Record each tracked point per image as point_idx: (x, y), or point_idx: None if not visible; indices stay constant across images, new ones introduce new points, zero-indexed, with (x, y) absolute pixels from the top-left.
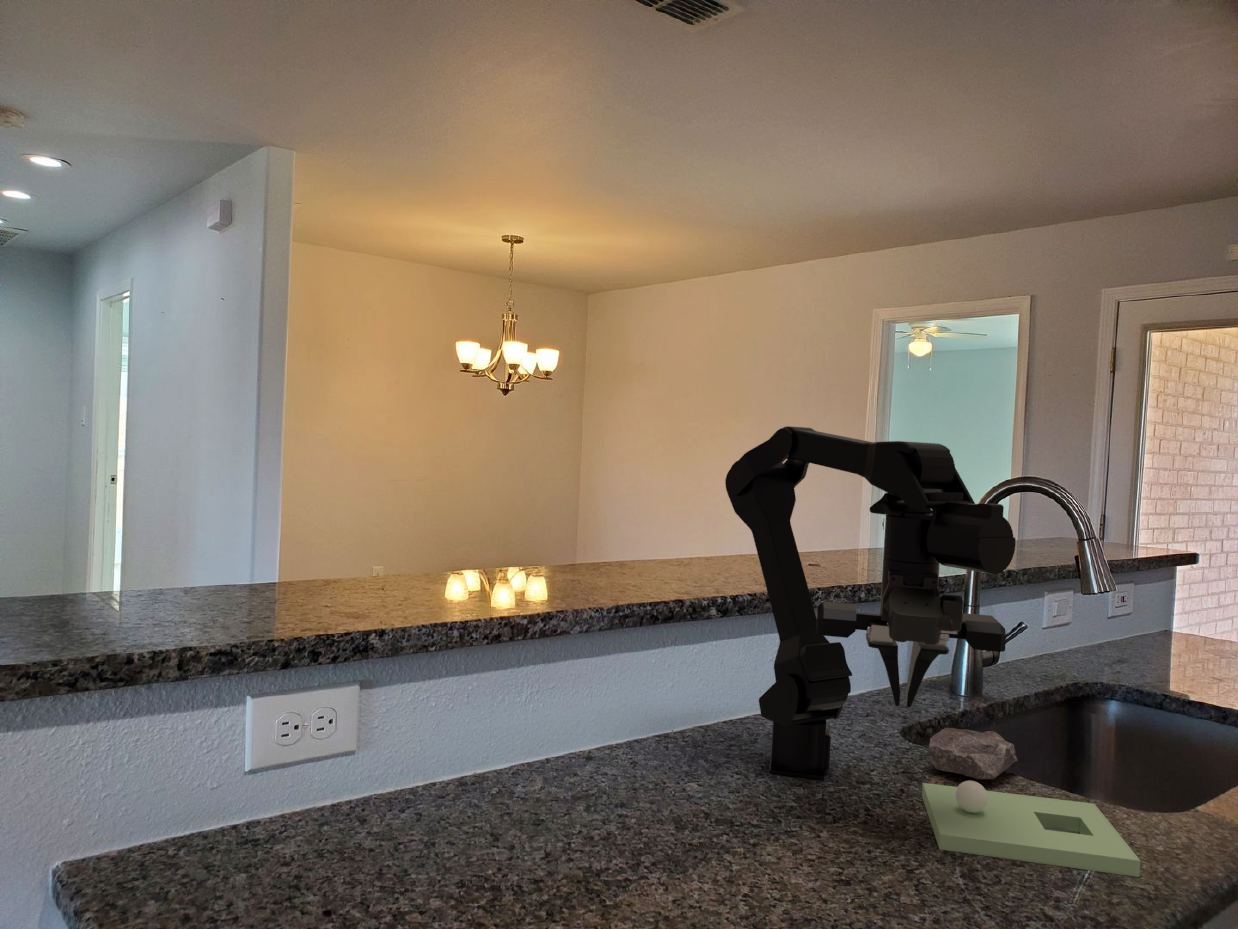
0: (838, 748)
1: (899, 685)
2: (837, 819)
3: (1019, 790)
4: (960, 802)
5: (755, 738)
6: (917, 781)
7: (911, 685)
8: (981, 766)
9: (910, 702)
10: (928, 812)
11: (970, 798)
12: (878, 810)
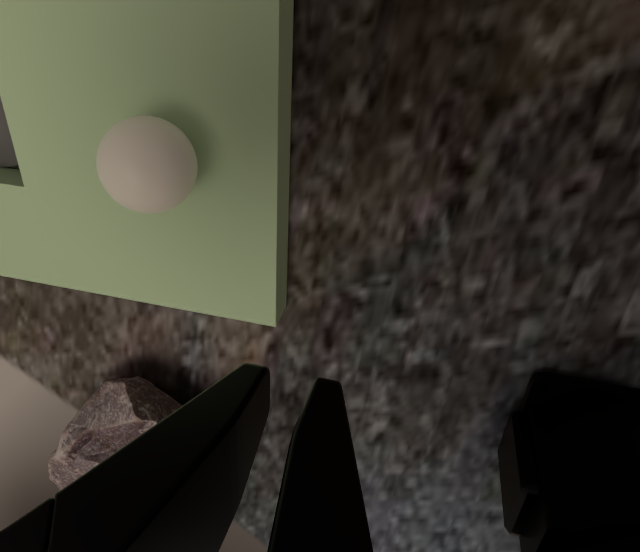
0: (432, 536)
1: (282, 486)
2: (584, 111)
3: (78, 361)
4: (185, 137)
5: None
6: (282, 388)
7: (177, 469)
8: (123, 393)
9: (235, 380)
10: (285, 190)
11: (148, 124)
12: (422, 206)
